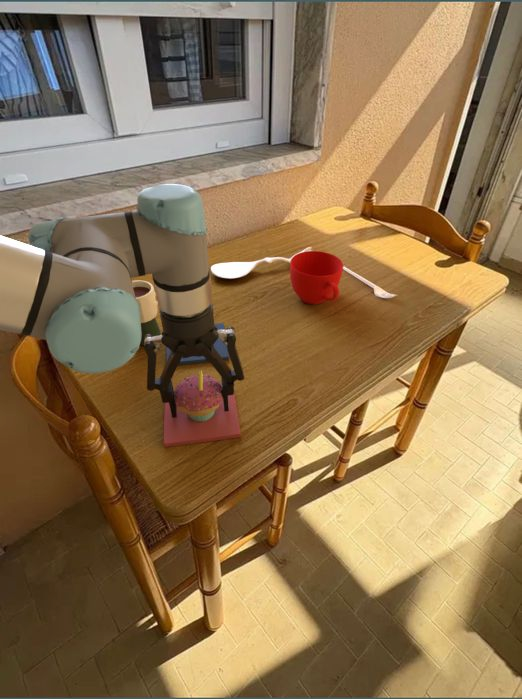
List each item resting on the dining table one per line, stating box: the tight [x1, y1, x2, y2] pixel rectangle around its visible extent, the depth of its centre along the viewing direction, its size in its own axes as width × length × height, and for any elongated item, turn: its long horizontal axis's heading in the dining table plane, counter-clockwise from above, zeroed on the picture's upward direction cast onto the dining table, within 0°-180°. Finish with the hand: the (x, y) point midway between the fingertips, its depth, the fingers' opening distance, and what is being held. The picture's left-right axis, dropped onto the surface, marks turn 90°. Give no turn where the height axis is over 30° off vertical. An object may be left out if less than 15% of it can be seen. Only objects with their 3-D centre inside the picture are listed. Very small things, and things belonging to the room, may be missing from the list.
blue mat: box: [165, 322, 230, 366], centre depth 84 cm, size 13×12×1 cm
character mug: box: [132, 279, 162, 346], centre depth 82 cm, size 11×7×13 cm, turn 115°
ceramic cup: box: [289, 250, 344, 305], centre depth 95 cm, size 13×17×10 cm
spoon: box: [210, 246, 314, 280], centre depth 109 cm, size 9×32×4 cm, turn 108°
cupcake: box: [174, 369, 223, 421], centre depth 65 cm, size 9×8×12 cm
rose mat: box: [163, 384, 242, 448], centre depth 69 cm, size 13×12×1 cm
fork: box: [343, 266, 397, 299], centre depth 104 cm, size 3×20×2 cm, turn 31°
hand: (200, 408), depth 68 cm, fingers closed on cupcake, 8 cm apart
